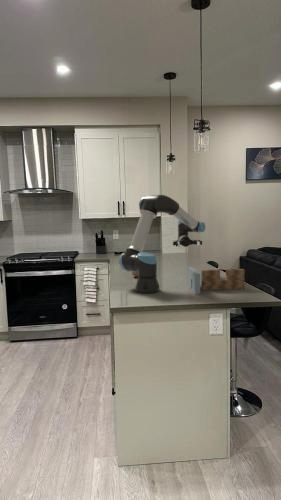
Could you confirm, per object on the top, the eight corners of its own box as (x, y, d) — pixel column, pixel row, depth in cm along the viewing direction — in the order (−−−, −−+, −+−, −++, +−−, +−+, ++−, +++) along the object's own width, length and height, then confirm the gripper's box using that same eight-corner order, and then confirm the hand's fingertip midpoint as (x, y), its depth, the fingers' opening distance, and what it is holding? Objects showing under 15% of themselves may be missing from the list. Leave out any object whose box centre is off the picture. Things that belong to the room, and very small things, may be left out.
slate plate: (200, 294, 183) (200, 274, 182) (195, 294, 183) (195, 274, 182) (193, 284, 207) (193, 266, 205) (188, 284, 207) (188, 266, 205)
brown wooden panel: (202, 289, 194) (202, 270, 192) (201, 288, 197) (201, 269, 195) (244, 288, 194) (244, 269, 192) (242, 287, 197) (243, 268, 195)
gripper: (201, 245, 231) (207, 249, 210) (168, 246, 231) (170, 250, 210) (201, 235, 230) (207, 238, 209) (167, 236, 230) (170, 239, 209)
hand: (189, 244), depth 209 cm, fingers open, 13 cm apart
